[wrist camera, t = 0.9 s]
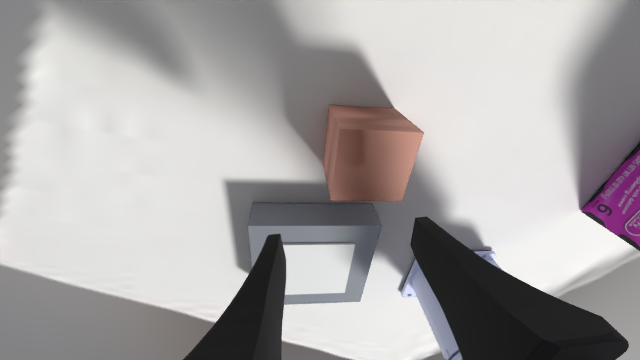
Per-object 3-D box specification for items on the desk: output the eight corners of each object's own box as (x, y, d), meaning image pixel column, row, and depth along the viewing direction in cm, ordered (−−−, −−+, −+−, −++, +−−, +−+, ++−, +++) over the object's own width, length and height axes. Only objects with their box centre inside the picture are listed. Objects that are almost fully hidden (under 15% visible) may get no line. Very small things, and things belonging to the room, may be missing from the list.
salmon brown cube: (394, 108, 18) (423, 132, 14) (380, 166, 21) (402, 201, 17) (329, 104, 18) (339, 128, 14) (323, 164, 20) (330, 200, 16)
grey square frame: (372, 203, 23) (382, 227, 20) (354, 277, 29) (360, 303, 26) (253, 202, 22) (247, 227, 19) (259, 280, 28) (255, 307, 25)
